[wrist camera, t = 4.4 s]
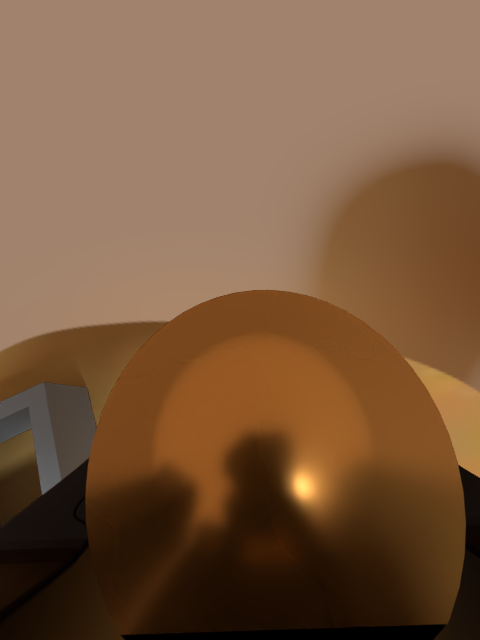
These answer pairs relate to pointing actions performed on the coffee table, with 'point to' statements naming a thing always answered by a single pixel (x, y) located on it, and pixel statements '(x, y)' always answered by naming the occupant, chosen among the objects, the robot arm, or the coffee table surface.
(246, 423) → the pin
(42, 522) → the robot arm
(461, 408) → the coffee table surface
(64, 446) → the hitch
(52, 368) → the coffee table surface
